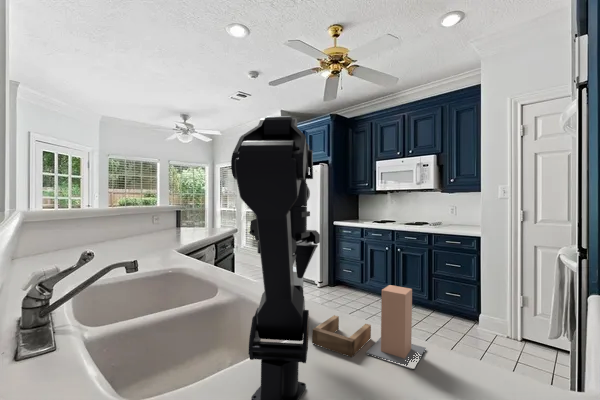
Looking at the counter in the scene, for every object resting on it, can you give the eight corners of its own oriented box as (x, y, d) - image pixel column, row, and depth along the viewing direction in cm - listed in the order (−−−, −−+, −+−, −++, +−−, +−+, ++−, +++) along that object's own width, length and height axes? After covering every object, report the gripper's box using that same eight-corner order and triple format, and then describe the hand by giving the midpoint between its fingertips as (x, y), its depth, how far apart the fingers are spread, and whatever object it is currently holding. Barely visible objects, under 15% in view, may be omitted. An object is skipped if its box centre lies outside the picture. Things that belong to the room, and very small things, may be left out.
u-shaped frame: (351, 357, 56) (352, 341, 56) (312, 343, 62) (312, 329, 62) (370, 338, 64) (370, 324, 64) (334, 328, 69) (334, 315, 69)
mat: (414, 370, 52) (414, 367, 52) (366, 354, 57) (366, 352, 57) (425, 349, 60) (425, 347, 60) (382, 337, 65) (382, 335, 65)
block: (404, 358, 55) (405, 294, 55) (380, 351, 58) (381, 290, 58) (411, 348, 59) (412, 288, 59) (388, 342, 62) (389, 284, 62)
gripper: (277, 205, 71) (276, 269, 71) (232, 206, 54) (231, 291, 54) (321, 206, 67) (320, 274, 67) (288, 207, 50) (287, 299, 50)
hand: (291, 283), depth 60 cm, fingers open, 9 cm apart
